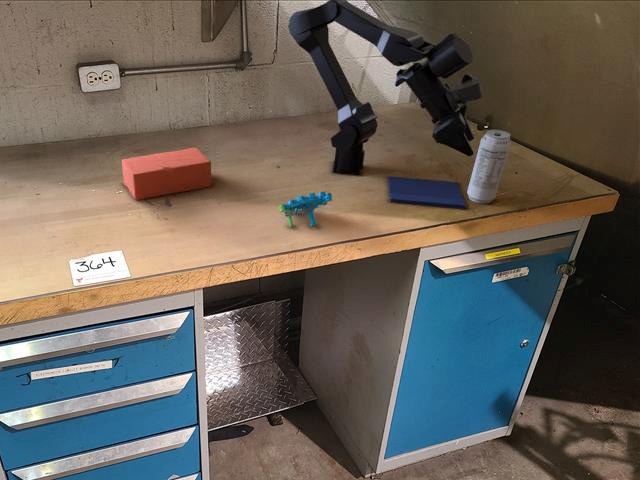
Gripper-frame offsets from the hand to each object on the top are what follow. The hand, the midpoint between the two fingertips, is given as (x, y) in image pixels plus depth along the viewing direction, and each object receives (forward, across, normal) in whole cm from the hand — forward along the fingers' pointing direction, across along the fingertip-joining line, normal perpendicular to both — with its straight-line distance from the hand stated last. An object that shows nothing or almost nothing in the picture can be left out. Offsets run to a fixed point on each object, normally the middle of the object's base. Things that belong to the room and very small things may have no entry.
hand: (471, 147), depth 129 cm
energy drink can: (+11, 0, +5) cm, 12 cm away
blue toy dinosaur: (-14, -23, +30) cm, 40 cm away
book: (+3, -1, +13) cm, 14 cm away
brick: (-37, -18, +53) cm, 67 cm away
